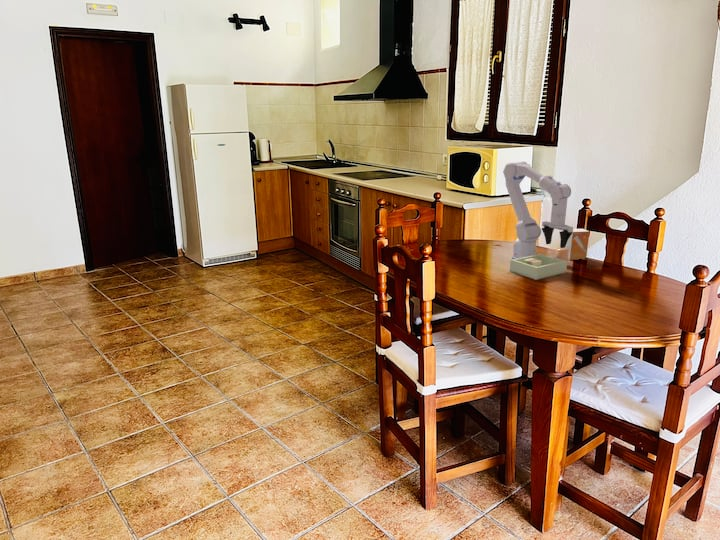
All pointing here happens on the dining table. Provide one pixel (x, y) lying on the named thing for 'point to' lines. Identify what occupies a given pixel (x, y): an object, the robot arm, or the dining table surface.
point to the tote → (546, 269)
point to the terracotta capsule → (562, 253)
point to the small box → (578, 244)
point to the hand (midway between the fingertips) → (555, 245)
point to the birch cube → (533, 262)
